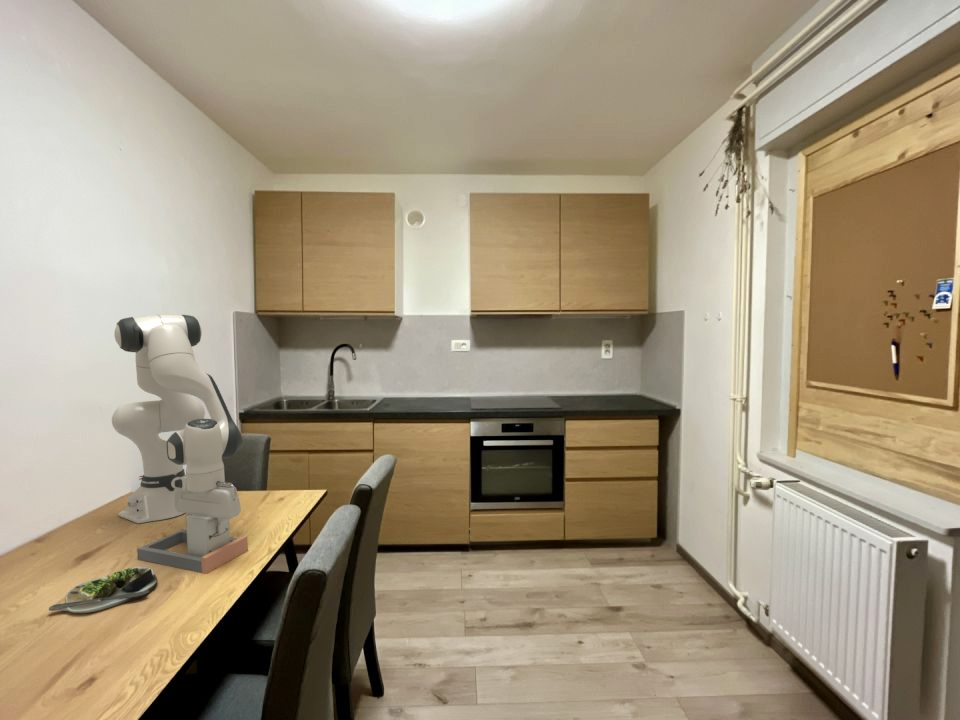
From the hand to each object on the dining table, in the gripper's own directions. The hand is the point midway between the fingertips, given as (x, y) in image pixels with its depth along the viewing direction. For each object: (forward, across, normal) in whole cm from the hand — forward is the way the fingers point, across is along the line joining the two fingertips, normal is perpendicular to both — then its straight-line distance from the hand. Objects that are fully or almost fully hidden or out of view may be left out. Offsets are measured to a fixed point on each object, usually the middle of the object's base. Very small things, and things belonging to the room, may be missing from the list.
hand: (208, 530), depth 124 cm
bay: (+8, +6, 0) cm, 10 cm away
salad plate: (+8, +7, +19) cm, 22 cm away
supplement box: (+8, 0, 0) cm, 8 cm away
